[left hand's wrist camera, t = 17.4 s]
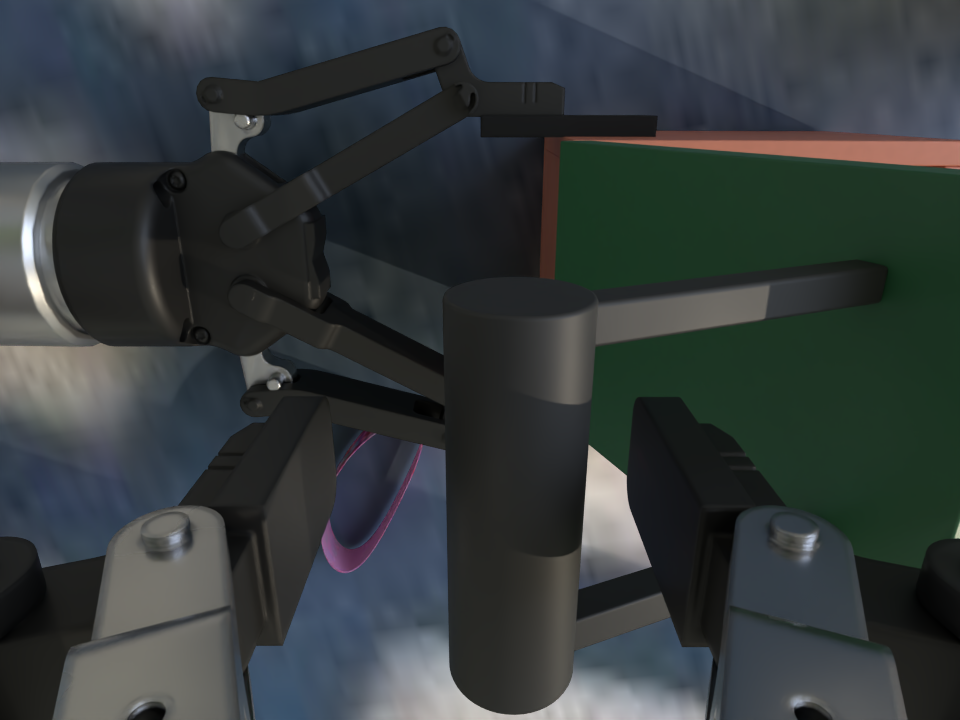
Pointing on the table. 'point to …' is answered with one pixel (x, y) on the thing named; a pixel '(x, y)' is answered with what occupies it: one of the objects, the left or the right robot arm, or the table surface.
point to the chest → (760, 142)
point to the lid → (695, 378)
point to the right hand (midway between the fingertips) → (636, 257)
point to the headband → (354, 558)
